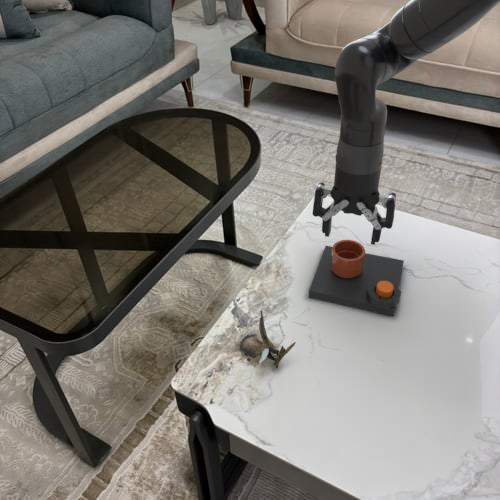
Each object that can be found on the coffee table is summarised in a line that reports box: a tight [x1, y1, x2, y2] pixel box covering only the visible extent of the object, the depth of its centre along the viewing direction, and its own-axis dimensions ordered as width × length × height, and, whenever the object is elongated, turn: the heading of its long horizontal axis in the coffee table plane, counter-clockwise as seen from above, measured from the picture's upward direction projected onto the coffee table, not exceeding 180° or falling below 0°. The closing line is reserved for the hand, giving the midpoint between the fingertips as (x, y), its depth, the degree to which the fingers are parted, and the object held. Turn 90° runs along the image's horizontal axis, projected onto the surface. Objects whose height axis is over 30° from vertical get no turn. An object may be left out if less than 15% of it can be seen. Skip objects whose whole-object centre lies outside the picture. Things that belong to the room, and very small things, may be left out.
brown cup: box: [330, 239, 366, 278], centre depth 97 cm, size 6×6×5 cm
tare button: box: [376, 281, 394, 298], centre depth 91 cm, size 3×3×2 cm
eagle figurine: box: [239, 309, 296, 369], centre depth 84 cm, size 8×7×9 cm
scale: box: [308, 245, 405, 317], centre depth 97 cm, size 16×14×4 cm
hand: (350, 237), depth 93 cm, fingers open, 8 cm apart
